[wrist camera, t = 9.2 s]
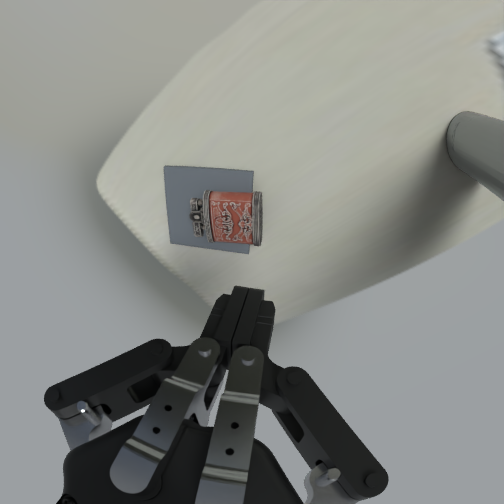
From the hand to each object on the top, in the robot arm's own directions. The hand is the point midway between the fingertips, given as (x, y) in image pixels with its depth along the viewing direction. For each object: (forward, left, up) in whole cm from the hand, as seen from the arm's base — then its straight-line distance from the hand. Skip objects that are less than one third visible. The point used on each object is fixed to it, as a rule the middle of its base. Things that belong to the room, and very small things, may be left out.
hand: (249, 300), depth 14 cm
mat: (+10, +8, -26) cm, 29 cm away
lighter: (+2, +7, -23) cm, 24 cm away
